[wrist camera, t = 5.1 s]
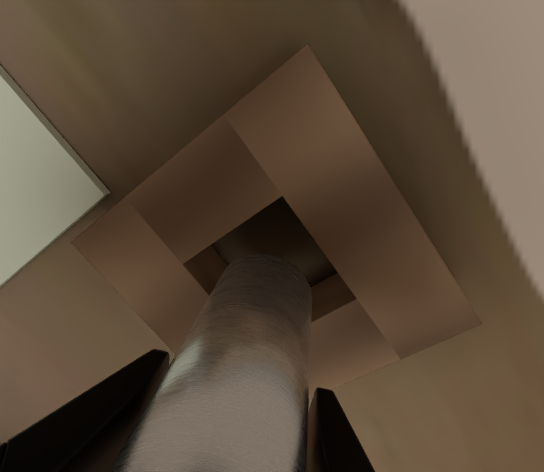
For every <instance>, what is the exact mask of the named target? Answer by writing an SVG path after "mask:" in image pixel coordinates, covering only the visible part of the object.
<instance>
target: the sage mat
mask: <svg viewBox="0 0 544 472" xmlns="http://www.w3.org/2000/svg"><path fill="white" fill-rule="evenodd" d="M109 194H110V191H109V190H108V189H107V188H106V187H105V186H104V184H103V183H102V182H101V181H100V180H99V179H98V178H97V176H96V175H95V174H94V173H93V172H92V171H91V169H90V168H89V167H88V166H87V165H86V164H85V162H84V161H83V160H82V159H81V158H80V157H79V156H78V154H77V153H76V152H75V151H74V150H73V149H72V147H71V146H70V145H69V144H68V143H67V142H66V140H65V139H64V138H63V137H62V136H61V135H60V134H59V132H58V131H57V130H56V129H55V128H54V127H53V125H52V124H51V123H50V122H49V121H48V120H47V118H46V117H45V116H44V115H43V114H42V113H41V112H40V110H39V109H38V108H37V107H36V106H35V105H34V103H33V102H32V101H31V100H30V99H29V98H28V96H27V95H26V94H25V93H24V92H23V91H22V89H21V88H20V87H19V86H18V85H17V84H16V83H15V81H14V80H13V79H12V78H11V77H10V76H9V74H8V73H7V72H6V71H5V70H4V69H3V67H2V66H1V65H0V288H1V287H2V286H3V285H4V284H5V283H6V282H8V281H9V280H10V279H11V278H12V277H13V276H15V275H16V274H17V273H18V272H19V271H20V270H22V269H23V268H24V267H25V266H26V265H27V264H29V263H30V262H31V261H32V260H33V259H34V258H36V257H37V256H38V255H39V254H40V253H41V252H42V251H44V250H45V249H46V248H47V247H48V246H49V245H51V244H52V243H53V242H54V241H55V240H56V239H58V238H59V237H60V236H61V235H62V234H63V233H65V232H66V231H67V230H68V229H69V228H70V227H72V226H73V225H74V224H75V223H76V222H77V221H78V220H80V219H81V218H82V217H83V216H84V215H85V214H87V213H88V212H89V211H90V210H91V209H92V208H94V207H95V206H96V205H97V204H98V203H99V202H101V201H102V200H103V199H104V198H105V197H106V196H108V195H109Z"/></svg>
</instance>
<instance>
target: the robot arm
mask: <svg viewBox="0 0 544 472" xmlns="http://www.w3.org/2000/svg"><path fill="white" fill-rule="evenodd" d="M168 368H169V353H168V352H166V351H162V350H157V349H153V350H151V351H149V352H147V353H146V354H144V355H143V356H141V357H139V358H138V359H136V360H135V361H133V362H132V363H130V364H128V365H127V366H125V367H124V368H122V369H120V370H119V371H117V372H116V373H114V374H112V375H111V376H109V377H108V378H106V379H104V380H103V381H101V382H100V383H98V384H97V385H95V386H93V387H92V388H90V389H89V390H87V391H85V392H84V393H82V394H81V395H79V396H77V397H76V398H74V399H73V400H71V401H70V402H68V403H66V404H65V405H63V406H62V407H60V408H58V409H57V410H55V411H54V412H52V413H50V414H49V415H47V416H46V417H44V418H42V419H41V420H39V421H38V422H36V423H35V424H33V425H31V426H30V427H28V428H27V429H25V430H23V431H22V432H20V433H19V434H17V435H15V436H14V437H12V438H11V439H9V440H8V442H7V443H2V444H1V445H0V472H109V470H110V469H111V467H112V465H113V463H114V462H115V460H116V458H117V456H118V455H119V453H120V451H121V449H122V448H123V446H124V444H125V442H126V441H127V439H128V437H129V435H130V434H131V432H132V430H133V429H134V427H135V425H136V423H137V422H138V420H139V418H140V416H141V415H142V413H143V411H144V409H145V408H146V406H147V404H148V402H149V401H150V399H151V397H152V395H153V394H154V392H155V390H156V388H157V387H158V385H159V383H160V382H161V380H162V378H163V376H164V375H165V373H166V371H167V369H168ZM306 472H375V471H374V469H373V467H372V465H371V463H370V461H369V459H368V457H367V455H366V453H365V451H364V449H363V448H362V446H361V444H360V442H359V440H358V438H357V436H356V434H355V432H354V430H353V428H352V426H351V425H350V423H349V421H348V419H347V417H346V415H345V413H344V411H343V409H342V407H341V405H340V403H339V402H338V400H337V398H336V396H335V394H334V392H333V391H332V390H329V389H325V388H321V387H318V388H316V389H315V392H314V395H313V399H312V402H311V406H310V409H309V413H308V433H307V463H306Z"/></svg>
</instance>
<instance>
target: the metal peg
mask: <svg viewBox="0 0 544 472" xmlns="http://www.w3.org/2000/svg"><path fill="white" fill-rule="evenodd" d="M311 312H312V293H311V288H310V285H309V283H308V280H307V279H306V277H305V275H304V274H303V273H302V272H301V270H300V269H299V268H297V267H296V266H295V265H294V264H292V263H291V262H290V261H288V260H286V259H284V258H282V257H279V256H276V255H272V254H265V253H257V254H250V255H246V256H243V257H241V258H239V259H237V260H235V261H234V262H232V263H231V264H230V265H229V266H228V267H227V268H226V269H225V271H224V272H223V274H222V275H221V277H220V279H219V281H218V282H217V284H216V286H215V288H214V289H213V291H212V293H211V295H210V296H209V298H208V300H207V301H206V303H205V305H204V307H203V308H202V310H201V312H200V314H199V315H198V317H197V319H196V321H195V322H194V324H193V326H192V328H191V329H190V331H189V333H188V335H187V336H186V338H185V340H184V342H183V343H182V345H181V347H180V348H179V350H178V352H177V354H176V355H175V357H174V359H173V361H172V362H171V364H170V366H169V368H168V369H167V371H166V373H165V375H164V376H163V378H162V380H161V382H160V383H159V385H158V387H157V388H156V390H155V392H154V394H153V395H152V397H151V399H150V401H149V402H148V404H147V406H146V408H145V409H144V411H143V413H142V415H141V416H140V418H139V420H138V422H137V423H136V425H135V427H134V429H133V430H132V432H131V434H130V435H129V437H128V439H127V441H126V442H125V444H124V446H123V448H122V449H121V451H120V453H119V455H118V456H117V458H116V460H115V462H114V463H113V465H112V467H111V469H110V470H109V472H306V463H307V433H308V403H309V373H310V342H311Z"/></svg>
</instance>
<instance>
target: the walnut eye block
mask: <svg viewBox="0 0 544 472" xmlns="http://www.w3.org/2000/svg"><path fill="white" fill-rule="evenodd" d="M281 196H283V197H284V199H285V200H286V201H287V203H288V204H289V206H290V207H291V208H292V210H293V211H294V213H295V214H296V215H297V217H298V218H299V219H300V221H301V222H302V224H303V225H304V226H305V228H306V229H307V230H308V232H309V233H310V235H311V236H312V237H313V239H314V240H315V242H316V243H317V244H318V246H319V247H320V248H321V250H322V251H323V253H324V254H325V255H326V257H327V258H328V260H329V261H330V262H331V264H332V265H333V266H334V268H335V269H336V271H337V272H338V273H336V274H334V275H332V276H331V277H329V278H327V279H325V280H323V281H322V282H320V283H318V284H316V285H315V286H313V287H311V293H312V312H311V342H310V373H309V399H310V398H313V395H314V392H315V389H316V388H318V387H321V388H325V389H329V390H331V389H333V388H336V387H338V386H340V385H343V384H345V383H347V382H349V381H352V380H354V379H356V378H359V377H361V376H363V375H366V374H368V373H370V372H372V371H375V370H377V369H379V368H382V367H384V366H386V365H389V364H391V363H393V362H395V361H398V360H400V359H402V358H405V357H407V356H409V355H412V354H414V353H416V352H418V351H421V350H423V349H425V348H428V347H430V346H432V345H435V344H437V343H439V342H441V341H444V340H446V339H448V338H451V337H453V336H455V335H458V334H460V333H462V332H464V331H467V330H469V329H471V328H474V327H476V326H478V325H481V324H482V322H481V321H480V319H479V318H478V316H477V314H476V313H475V311H474V310H473V308H472V306H471V305H470V303H469V302H468V300H467V298H466V297H465V295H464V294H463V292H462V290H461V289H460V287H459V285H458V284H457V282H456V281H455V279H454V277H453V276H452V274H451V273H450V271H449V269H448V268H447V266H446V265H445V263H444V261H443V260H442V258H441V257H440V255H439V253H438V252H437V250H436V249H435V247H434V245H433V244H432V242H431V241H430V239H429V237H428V236H427V234H426V233H425V231H424V229H423V228H422V226H421V225H420V223H419V221H418V220H417V218H416V217H415V215H414V213H413V212H412V210H411V209H410V207H409V205H408V204H407V202H406V201H405V199H404V197H403V196H402V194H401V193H400V191H399V189H398V188H397V186H396V184H395V183H394V181H393V180H392V178H391V176H390V175H389V173H388V172H387V170H386V168H385V167H384V165H383V164H382V162H381V160H380V159H379V157H378V156H377V154H376V152H375V151H374V149H373V148H372V146H371V144H370V143H369V141H368V140H367V138H366V136H365V135H364V133H363V132H362V130H361V128H360V127H359V125H358V124H357V122H356V120H355V119H354V117H353V116H352V114H351V112H350V111H349V109H348V108H347V106H346V104H345V103H344V101H343V100H342V98H341V96H340V95H339V93H338V91H337V90H336V88H335V87H334V85H333V83H332V82H331V80H330V79H329V77H328V75H327V74H326V72H325V71H324V69H323V67H322V66H321V64H320V63H319V61H318V59H317V58H316V56H315V55H314V53H313V51H312V50H311V48H310V47H309V45H308V44H307V45H305V46H304V47H303V48H302V49H301V50H299V51H298V52H297V53H296V54H295V55H293V56H292V57H291V58H290V59H289V60H287V61H286V62H285V63H284V64H283V65H281V66H280V67H279V68H278V69H277V70H275V71H274V72H273V73H272V74H271V75H270V76H268V77H267V78H266V79H265V80H264V81H262V82H261V83H260V84H259V85H258V86H256V87H255V88H254V89H253V90H252V91H250V92H249V93H248V94H247V95H246V96H244V97H243V98H242V99H241V100H240V101H239V102H237V103H236V104H235V105H234V106H233V107H231V108H230V109H229V110H228V111H227V112H225V113H224V114H223V115H222V116H221V117H219V118H218V119H217V120H216V121H215V122H213V123H212V124H211V125H210V126H209V127H207V128H206V129H205V130H204V131H203V132H202V133H200V134H199V135H198V136H197V137H196V138H194V139H193V140H192V141H191V142H190V143H188V144H187V145H186V146H185V147H184V148H182V149H181V150H180V151H179V152H178V153H176V154H175V155H174V156H173V157H172V158H170V159H169V160H168V161H167V162H166V163H165V164H163V165H162V166H161V167H160V168H159V169H157V170H156V171H155V172H154V173H153V174H151V175H150V176H149V177H148V178H147V179H145V180H144V181H143V182H142V183H141V184H139V185H138V186H137V187H136V188H135V189H133V190H132V191H131V192H130V193H129V194H128V195H126V196H125V197H124V198H123V199H122V200H120V201H119V202H118V203H117V204H116V205H114V206H113V207H112V208H111V209H110V210H108V211H107V212H106V213H105V214H104V215H102V216H101V217H100V218H99V219H98V220H97V221H95V222H94V223H93V224H92V225H91V226H89V227H88V228H87V229H86V230H85V231H83V232H82V233H81V234H80V235H79V236H77V237H76V238H75V239H74V240H73V241H71V243H72V244H73V245H74V246H75V247H76V248H77V250H78V251H79V252H80V253H81V254H82V255H83V256H84V257H85V258H86V259H87V260H88V261H89V262H90V263H91V265H92V266H93V267H94V268H95V269H96V270H97V271H98V272H99V273H100V274H101V275H102V276H103V277H104V278H105V280H106V281H107V282H108V283H109V284H110V285H111V286H112V287H113V288H114V289H115V290H116V291H117V292H118V293H119V294H120V296H121V297H122V298H123V299H124V300H125V301H126V302H127V303H128V304H129V305H130V306H131V307H132V308H133V309H134V311H135V312H136V313H137V314H138V315H139V316H140V317H141V318H142V319H143V320H144V321H145V322H146V323H147V324H148V326H149V327H150V328H151V329H152V330H153V331H154V332H155V333H156V334H157V335H158V336H159V337H160V338H161V339H162V340H163V342H164V343H165V344H166V345H167V346H168V347H169V348H170V349H171V350H172V351H173V352H174V353H175V354H177V352H178V350H179V348H180V347H181V345H182V343H183V342H184V340H185V338H186V336H187V335H188V333H189V331H190V329H191V328H192V326H193V324H194V322H195V321H196V319H197V317H198V315H199V314H200V312H201V310H202V308H203V307H204V305H205V303H206V301H207V300H208V298H209V296H210V295H211V293H212V291H213V289H214V288H215V286H216V284H217V282H218V281H219V279H220V277H221V275H222V274H223V272H224V271H225V269H226V268H227V267H228V265H227V264H226V263H225V261H224V260H223V259H222V258H221V256H220V255H219V254H218V253H217V252H216V250H215V249H214V248H213V247H212V245H211V244H213V243H214V242H215V241H217V240H218V239H220V238H221V237H223V236H224V235H226V234H227V233H229V232H230V231H232V230H233V229H234V228H236V227H237V226H239V225H240V224H242V223H243V222H245V221H246V220H248V219H249V218H250V217H252V216H253V215H255V214H256V213H258V212H259V211H261V210H262V209H264V208H265V207H267V206H268V205H269V204H271V203H272V202H274V201H275V200H277V199H278V198H280V197H281Z"/></svg>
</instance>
